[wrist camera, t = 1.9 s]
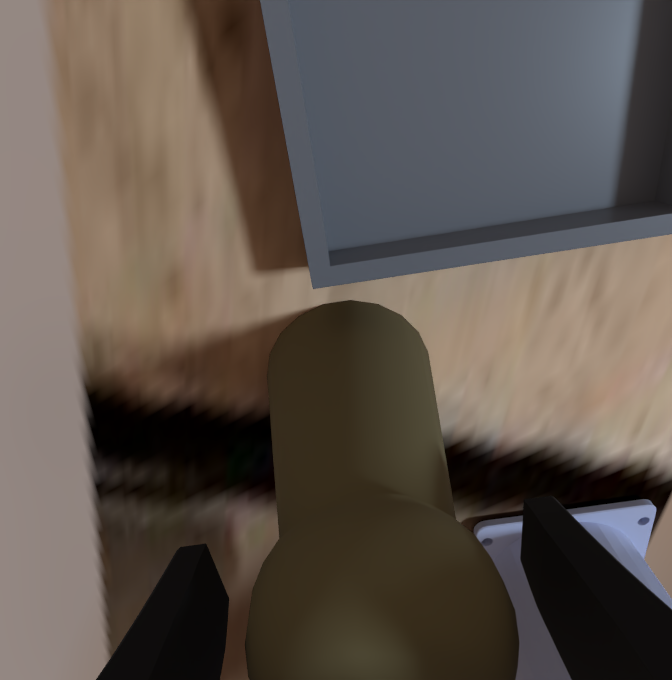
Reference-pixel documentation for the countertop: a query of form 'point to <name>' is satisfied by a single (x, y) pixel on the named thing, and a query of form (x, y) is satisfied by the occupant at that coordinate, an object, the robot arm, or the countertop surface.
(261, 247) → the countertop surface
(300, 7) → the tray
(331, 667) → the cork
